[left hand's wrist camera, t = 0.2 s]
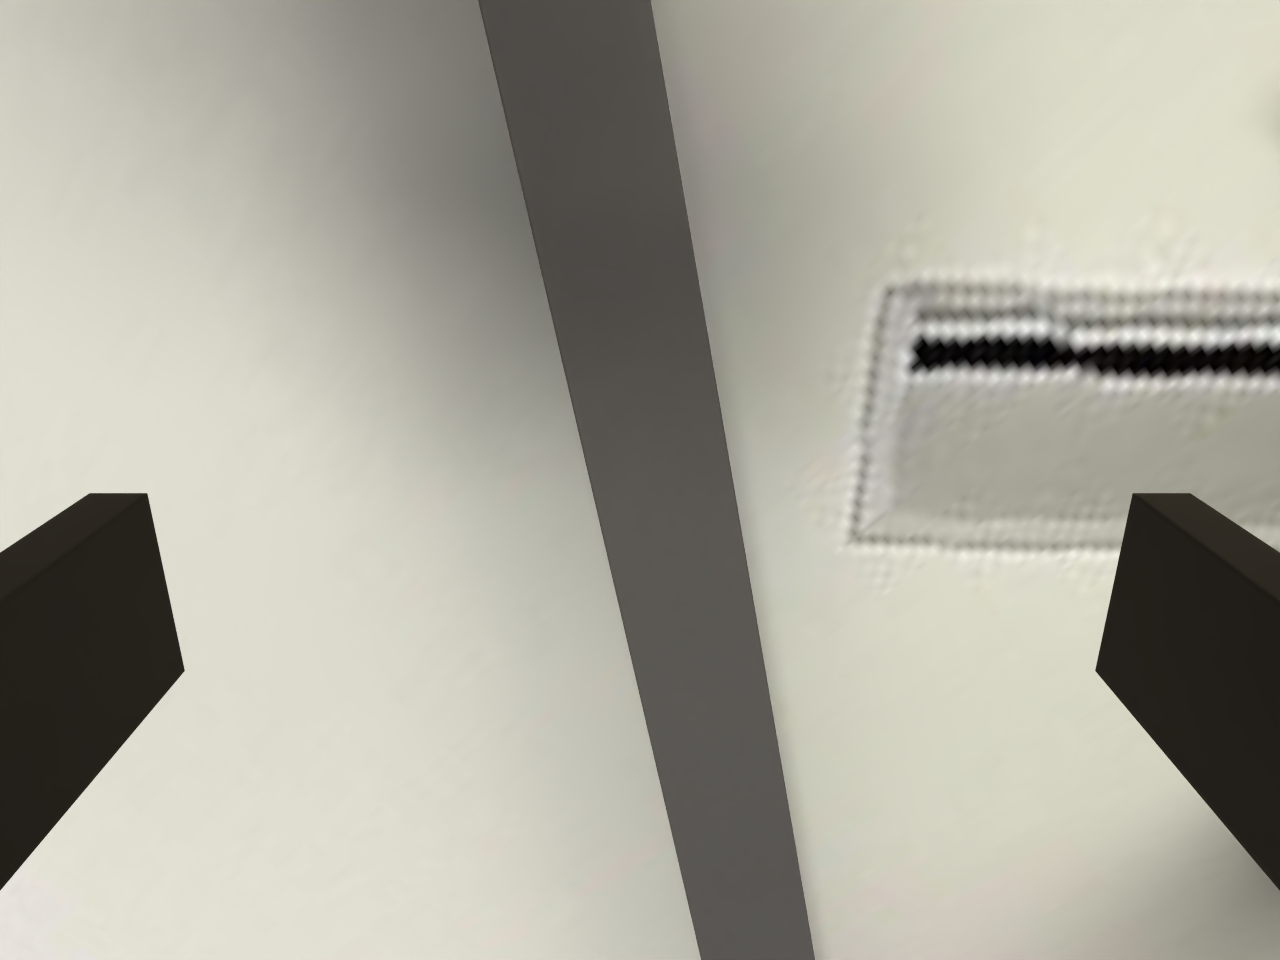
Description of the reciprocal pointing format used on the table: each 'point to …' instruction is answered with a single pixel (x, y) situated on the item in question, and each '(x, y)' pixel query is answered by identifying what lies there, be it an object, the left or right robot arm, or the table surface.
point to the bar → (654, 447)
